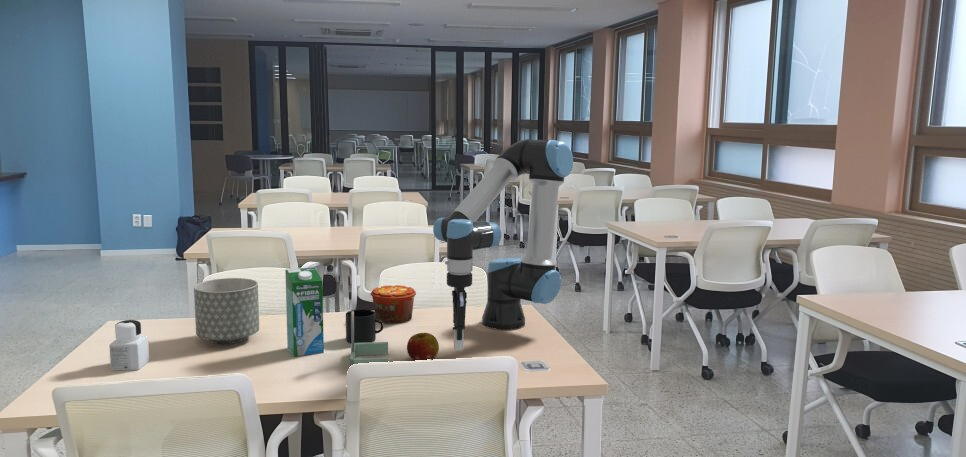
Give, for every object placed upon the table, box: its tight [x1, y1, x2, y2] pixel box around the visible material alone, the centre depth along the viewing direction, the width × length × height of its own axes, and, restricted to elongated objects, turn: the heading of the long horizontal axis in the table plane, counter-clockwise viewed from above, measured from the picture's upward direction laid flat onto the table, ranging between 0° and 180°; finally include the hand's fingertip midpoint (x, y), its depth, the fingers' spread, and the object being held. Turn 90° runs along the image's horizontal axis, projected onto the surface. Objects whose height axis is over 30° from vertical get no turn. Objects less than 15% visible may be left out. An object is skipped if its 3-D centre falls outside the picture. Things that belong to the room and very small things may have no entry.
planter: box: [193, 277, 260, 345], centre depth 225 cm, size 19×19×18 cm
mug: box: [345, 308, 384, 344], centre depth 228 cm, size 9×12×9 cm
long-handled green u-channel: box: [349, 310, 391, 367], centre depth 207 cm, size 11×15×16 cm
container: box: [109, 319, 150, 371], centre depth 202 cm, size 8×8×13 cm
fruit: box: [406, 332, 440, 361], centre depth 210 cm, size 10×9×8 cm
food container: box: [370, 284, 417, 325], centre depth 252 cm, size 16×16×11 cm
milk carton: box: [284, 266, 325, 357], centre depth 216 cm, size 9×9×25 cm
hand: (458, 349), depth 212 cm, fingers closed
